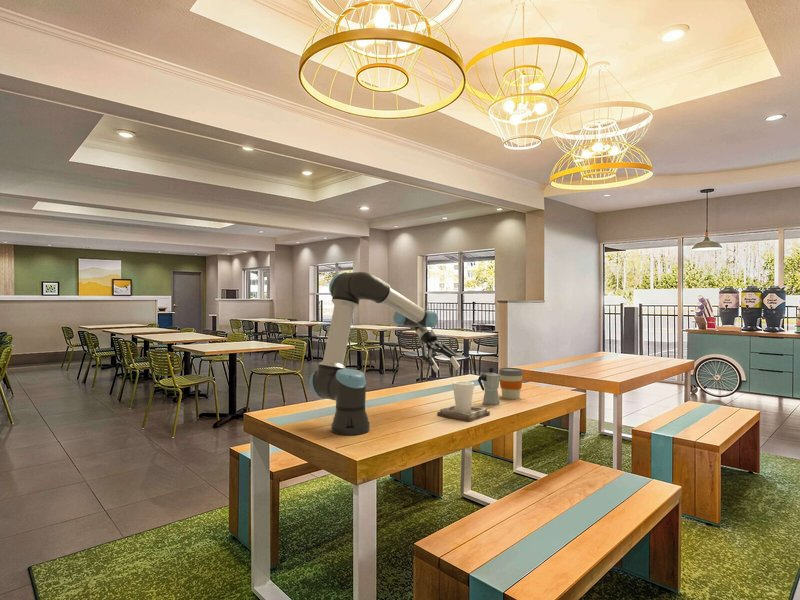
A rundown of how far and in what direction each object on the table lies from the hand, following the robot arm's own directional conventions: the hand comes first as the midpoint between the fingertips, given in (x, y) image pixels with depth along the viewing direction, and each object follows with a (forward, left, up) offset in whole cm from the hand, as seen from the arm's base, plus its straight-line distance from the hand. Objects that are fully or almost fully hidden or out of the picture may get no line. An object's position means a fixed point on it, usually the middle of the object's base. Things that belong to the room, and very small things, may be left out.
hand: (447, 369), depth 214 cm
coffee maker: (+27, -6, -20) cm, 34 cm away
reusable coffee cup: (+49, -6, -20) cm, 53 cm away
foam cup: (-2, -10, -18) cm, 21 cm away
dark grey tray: (-2, -10, -19) cm, 22 cm away
